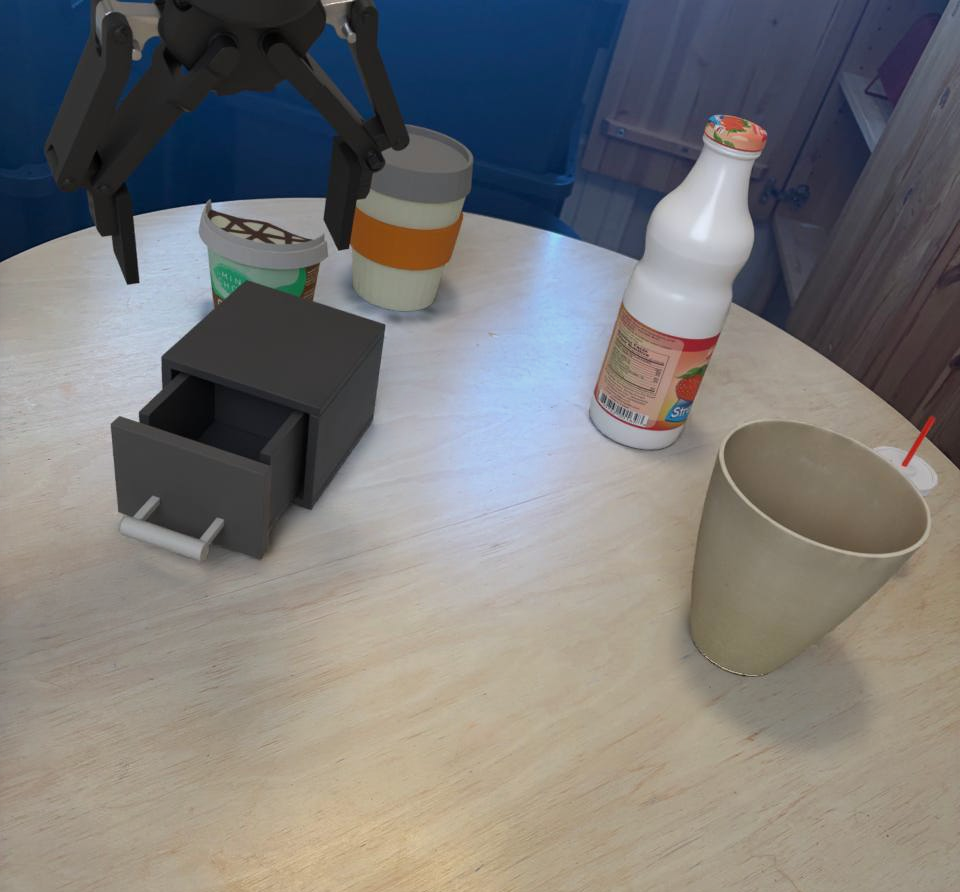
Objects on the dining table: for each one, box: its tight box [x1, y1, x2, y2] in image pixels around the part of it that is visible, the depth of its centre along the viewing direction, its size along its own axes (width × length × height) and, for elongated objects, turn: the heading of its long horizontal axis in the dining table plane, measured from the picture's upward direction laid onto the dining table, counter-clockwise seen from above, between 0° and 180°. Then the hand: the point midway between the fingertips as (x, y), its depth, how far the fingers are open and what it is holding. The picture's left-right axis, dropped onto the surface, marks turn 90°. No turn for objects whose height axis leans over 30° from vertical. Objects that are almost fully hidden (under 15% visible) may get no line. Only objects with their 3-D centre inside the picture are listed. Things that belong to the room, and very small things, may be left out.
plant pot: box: [689, 417, 933, 675], centre depth 72 cm, size 15×15×16 cm
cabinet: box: [160, 280, 387, 511], centre depth 81 cm, size 15×13×10 cm
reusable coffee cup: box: [350, 123, 474, 312], centre depth 102 cm, size 13×13×15 cm
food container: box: [198, 199, 329, 309], centre depth 92 cm, size 12×6×10 cm, turn 76°
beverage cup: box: [872, 415, 938, 498], centre depth 85 cm, size 6×6×14 cm
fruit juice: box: [589, 114, 768, 451], centre depth 87 cm, size 9×9×28 cm
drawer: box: [110, 372, 310, 562], centre depth 73 cm, size 18×11×8 cm, turn 165°
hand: (235, 250), depth 62 cm, fingers open, 13 cm apart
